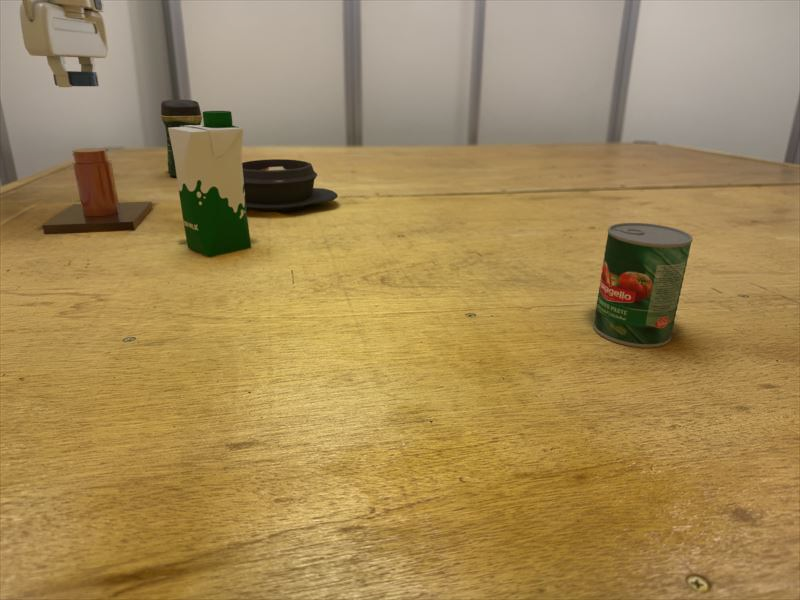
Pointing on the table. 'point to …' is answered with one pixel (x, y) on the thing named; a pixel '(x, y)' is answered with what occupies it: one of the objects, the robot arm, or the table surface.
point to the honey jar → (95, 182)
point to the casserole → (281, 185)
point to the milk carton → (211, 184)
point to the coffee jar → (178, 121)
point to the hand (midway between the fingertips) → (77, 86)
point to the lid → (82, 78)
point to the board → (98, 219)
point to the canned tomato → (641, 283)
